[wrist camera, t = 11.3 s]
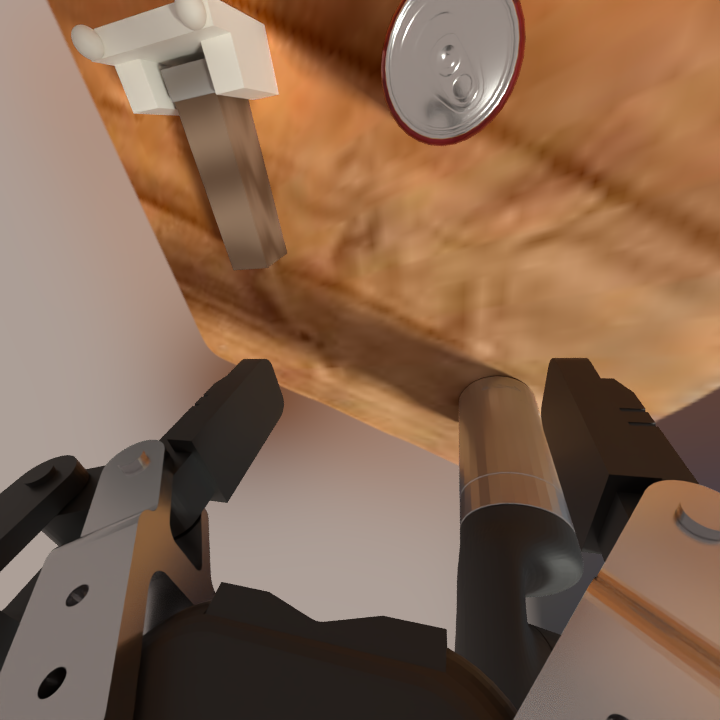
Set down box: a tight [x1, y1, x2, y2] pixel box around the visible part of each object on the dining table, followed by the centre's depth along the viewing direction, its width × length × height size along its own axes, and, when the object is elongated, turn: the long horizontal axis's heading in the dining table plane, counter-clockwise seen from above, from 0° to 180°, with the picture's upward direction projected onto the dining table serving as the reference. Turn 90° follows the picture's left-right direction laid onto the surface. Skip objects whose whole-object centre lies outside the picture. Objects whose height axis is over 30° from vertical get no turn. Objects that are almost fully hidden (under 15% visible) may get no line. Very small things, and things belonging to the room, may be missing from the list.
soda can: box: [381, 0, 526, 146], centre depth 22 cm, size 7×7×12 cm
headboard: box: [71, 0, 279, 116], centre depth 26 cm, size 5×10×10 cm, turn 98°
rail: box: [161, 58, 287, 270], centre depth 32 cm, size 16×4×5 cm, turn 8°
